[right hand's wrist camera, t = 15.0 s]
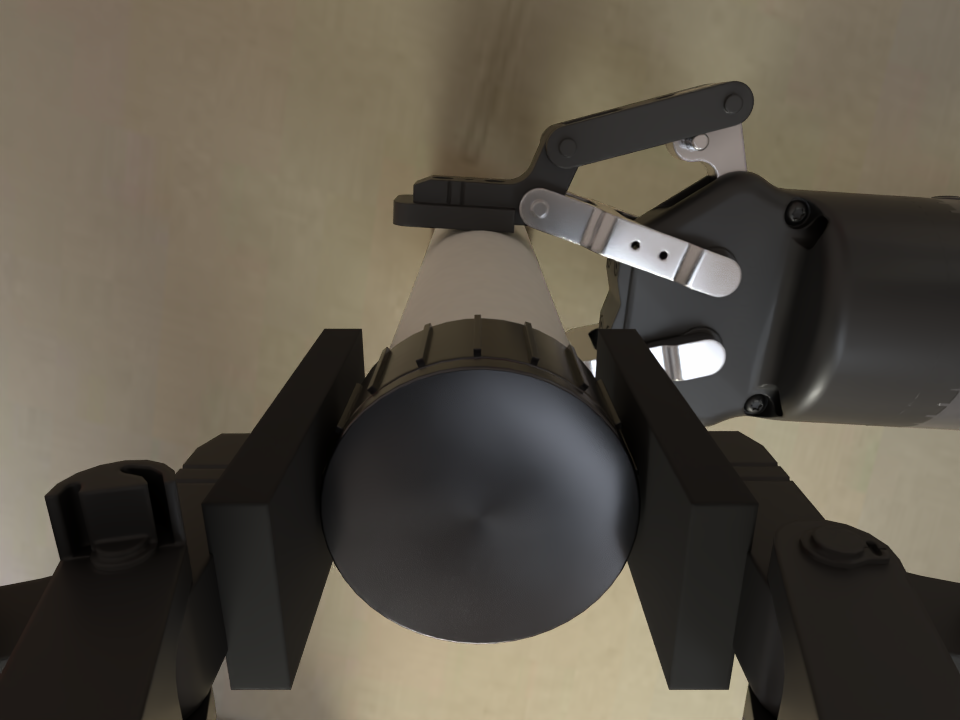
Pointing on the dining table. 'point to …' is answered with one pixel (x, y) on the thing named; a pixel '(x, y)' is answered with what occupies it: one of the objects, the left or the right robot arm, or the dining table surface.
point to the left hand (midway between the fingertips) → (397, 284)
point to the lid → (480, 484)
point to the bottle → (480, 283)
